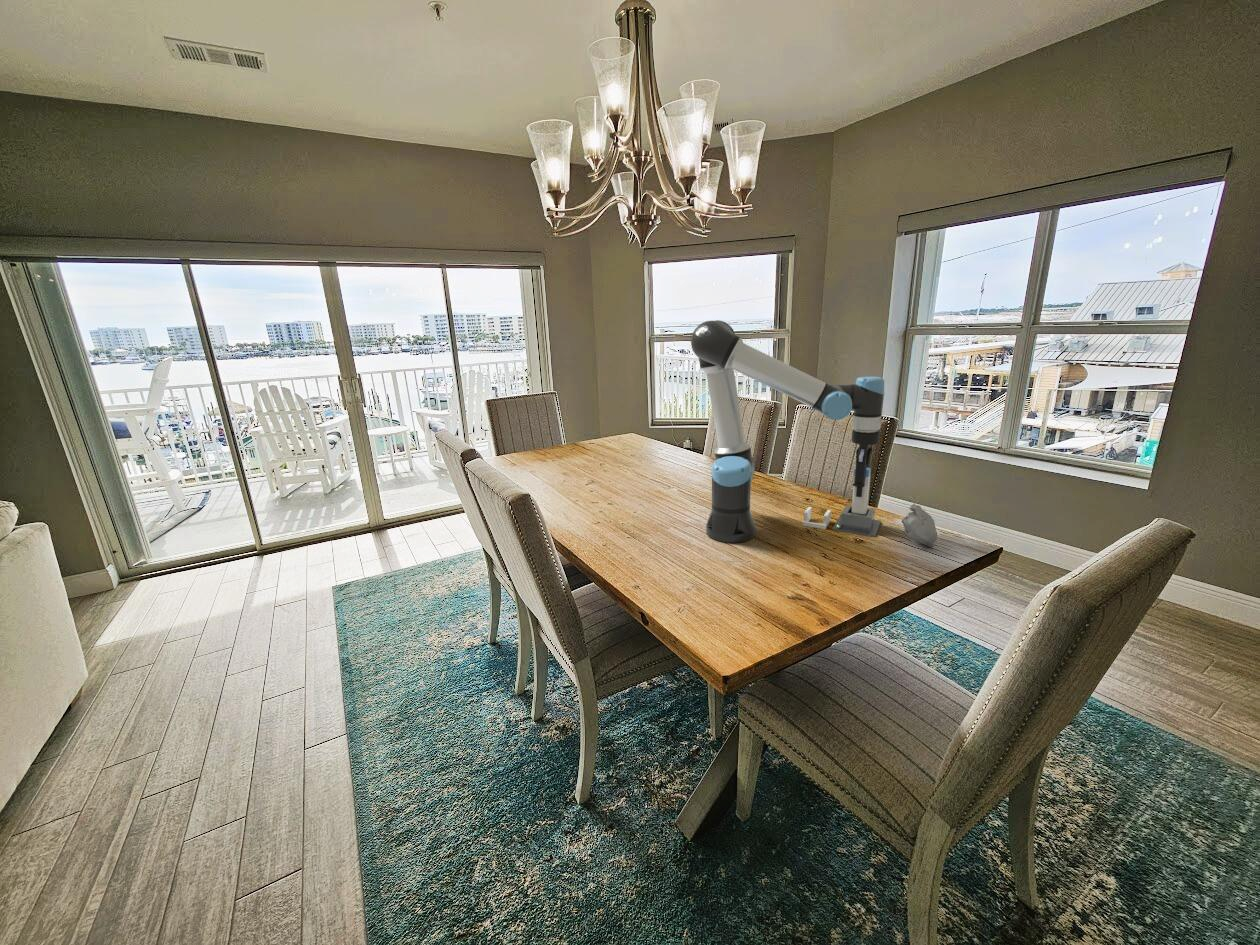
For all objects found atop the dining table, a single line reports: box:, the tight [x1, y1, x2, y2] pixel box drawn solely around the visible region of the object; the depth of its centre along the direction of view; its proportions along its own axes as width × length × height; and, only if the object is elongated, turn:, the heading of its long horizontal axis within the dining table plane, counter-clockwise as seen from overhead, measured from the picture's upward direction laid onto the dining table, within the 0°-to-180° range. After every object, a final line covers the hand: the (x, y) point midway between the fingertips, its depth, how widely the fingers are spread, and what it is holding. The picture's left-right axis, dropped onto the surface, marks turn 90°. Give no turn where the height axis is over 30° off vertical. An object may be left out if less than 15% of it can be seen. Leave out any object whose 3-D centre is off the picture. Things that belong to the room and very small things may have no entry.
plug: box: [851, 467, 872, 515], centre depth 148 cm, size 4×4×14 cm
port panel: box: [832, 504, 882, 538], centre depth 150 cm, size 12×13×5 cm
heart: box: [901, 503, 938, 548], centre depth 135 cm, size 10×10×12 cm
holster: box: [801, 506, 832, 530], centre depth 154 cm, size 7×7×4 cm
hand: (859, 503), depth 149 cm, fingers closed on plug, 4 cm apart
